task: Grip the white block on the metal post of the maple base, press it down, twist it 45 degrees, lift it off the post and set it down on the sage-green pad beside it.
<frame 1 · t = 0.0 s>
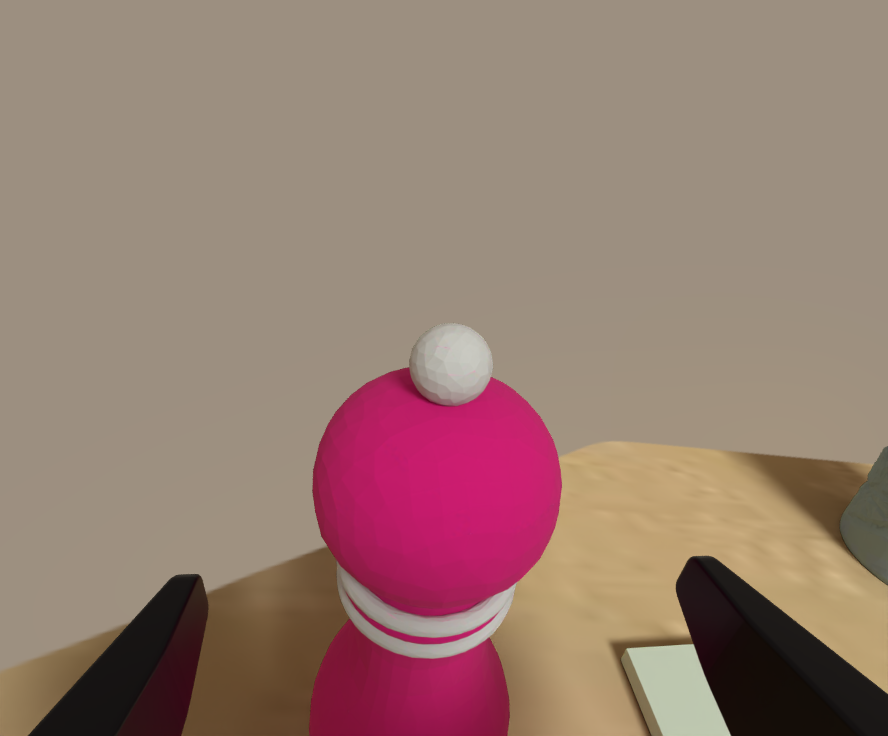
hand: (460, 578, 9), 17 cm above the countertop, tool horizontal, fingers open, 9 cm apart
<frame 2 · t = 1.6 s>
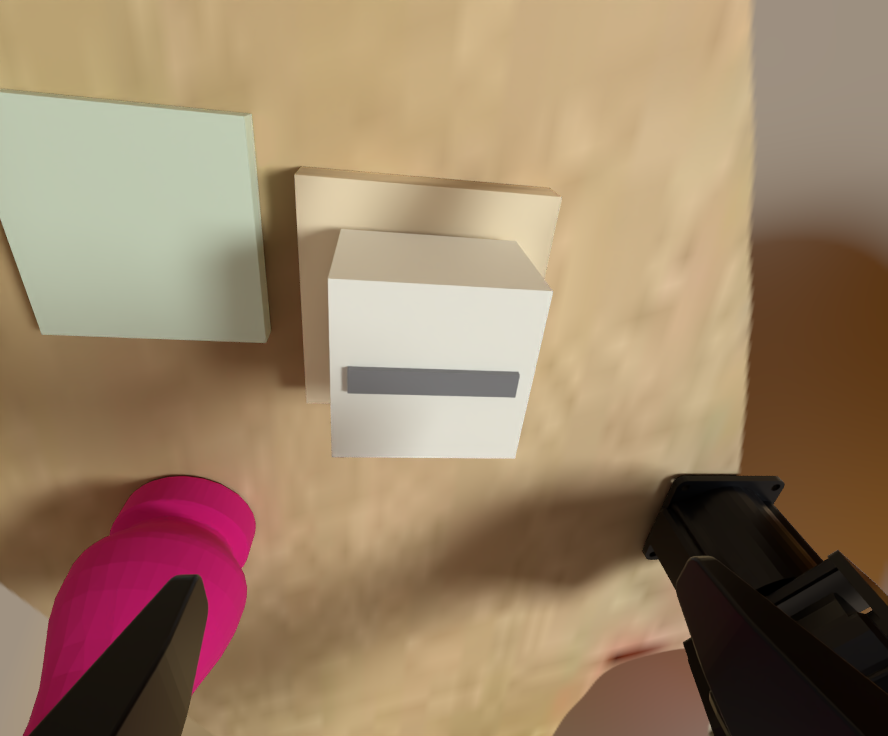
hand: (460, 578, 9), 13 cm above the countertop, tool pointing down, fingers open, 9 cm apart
pepper mill: (194, 516, 25), on the countertop
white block: (423, 314, 18), point 2 cm above the countertop, touching post base
pad: (146, 226, 18), on the countertop
post base: (420, 293, 20), on the countertop
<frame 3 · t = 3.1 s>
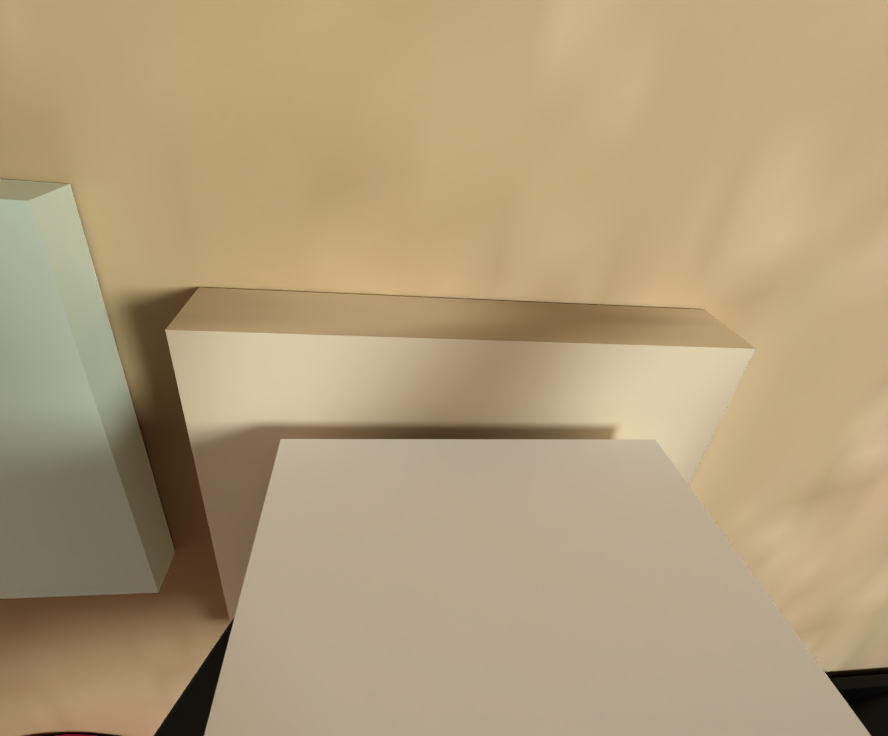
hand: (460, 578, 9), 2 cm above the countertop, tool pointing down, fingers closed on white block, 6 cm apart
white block: (457, 562, 9), point 2 cm above the countertop, touching gripper, post base
post base: (445, 485, 11), on the countertop
when the fingers open (2 cm above the countertop, at t = 8.9 s): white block drops 2 cm, resting on pad.
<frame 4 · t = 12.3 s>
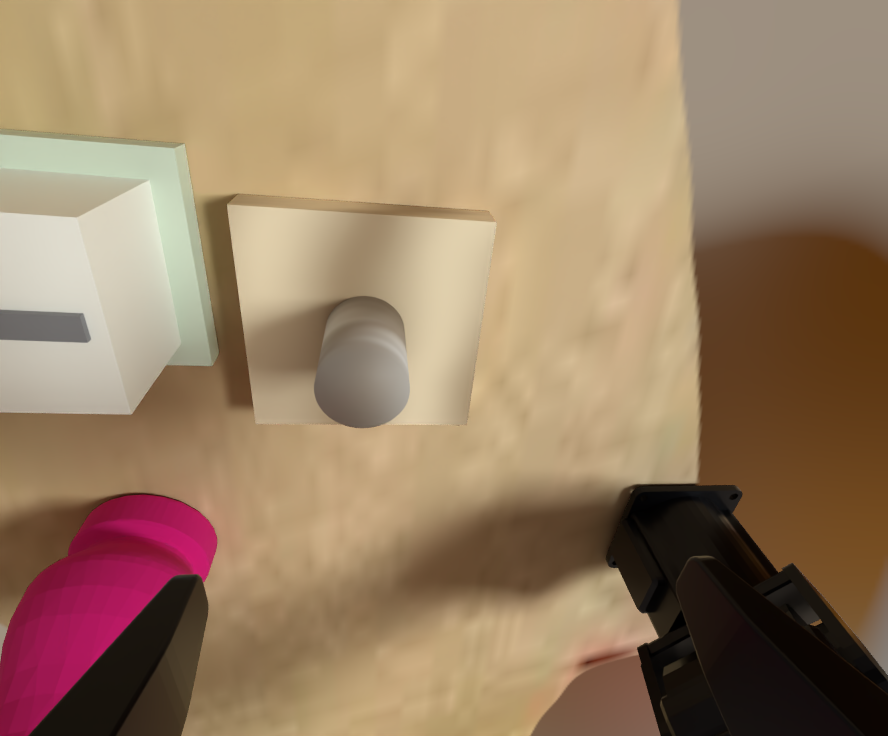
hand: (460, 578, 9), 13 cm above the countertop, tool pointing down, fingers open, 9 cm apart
pepper mill: (155, 532, 26), on the countertop
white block: (73, 263, 17), point 1 cm above the countertop, touching pad
pad: (86, 254, 18), on the countertop
post base: (366, 315, 20), on the countertop
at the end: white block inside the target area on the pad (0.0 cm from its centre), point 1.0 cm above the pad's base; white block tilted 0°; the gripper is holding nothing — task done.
